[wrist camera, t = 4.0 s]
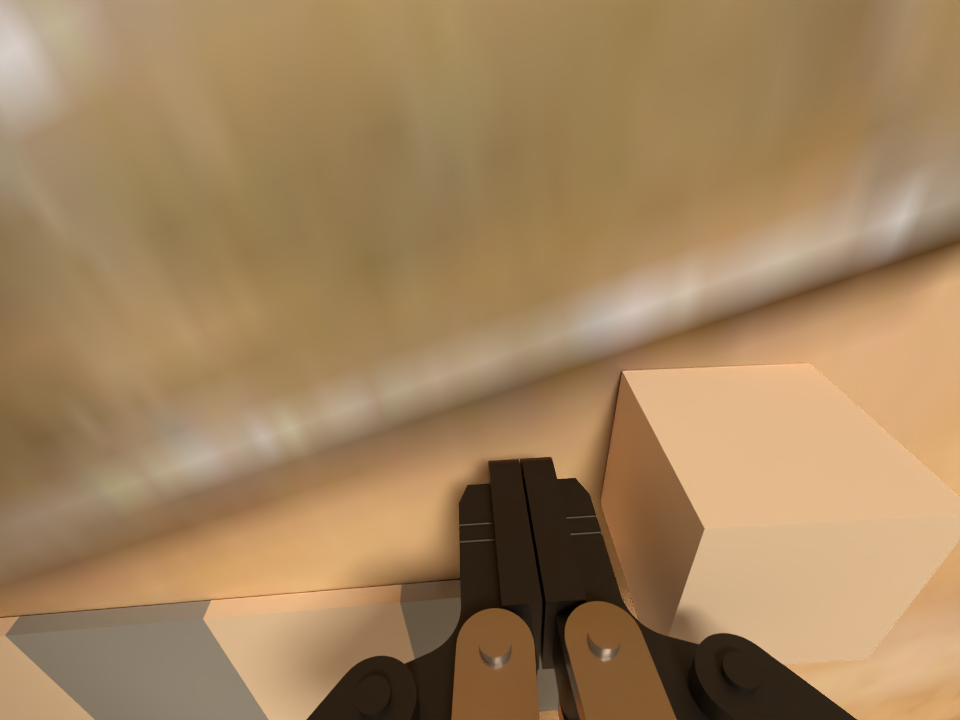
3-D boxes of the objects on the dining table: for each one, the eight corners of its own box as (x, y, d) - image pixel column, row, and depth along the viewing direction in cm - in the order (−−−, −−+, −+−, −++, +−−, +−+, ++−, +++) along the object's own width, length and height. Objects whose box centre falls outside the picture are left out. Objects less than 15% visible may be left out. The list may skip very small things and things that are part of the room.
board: (-174, 632, 16) (-195, 652, 15) (591, 568, 16) (595, 586, 15) (-19, 741, 20) (-31, 759, 19) (579, 690, 20) (583, 707, 19)
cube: (622, 371, 12) (705, 528, 8) (810, 363, 12) (980, 514, 8) (600, 503, 14) (655, 672, 10) (756, 495, 14) (866, 659, 10)
